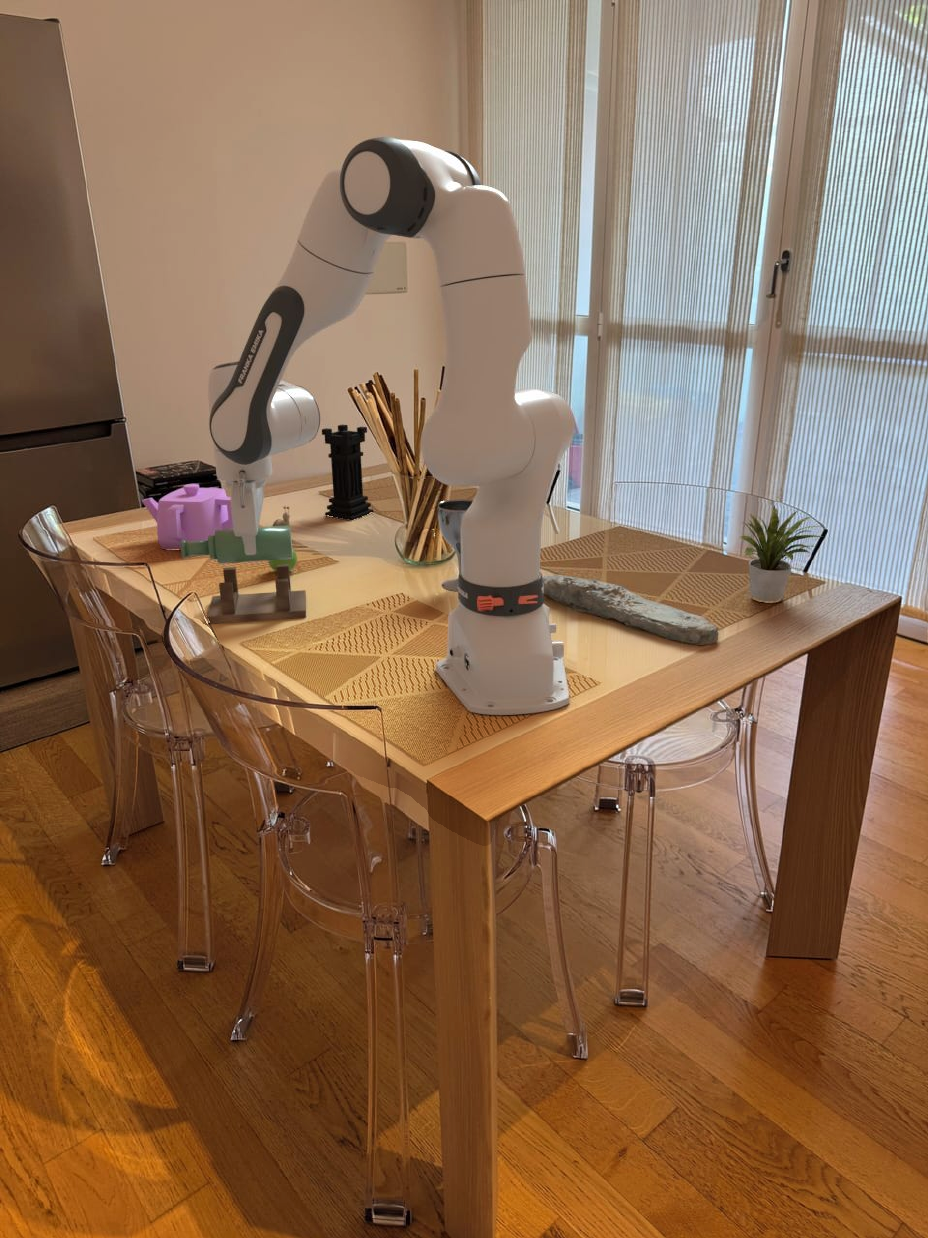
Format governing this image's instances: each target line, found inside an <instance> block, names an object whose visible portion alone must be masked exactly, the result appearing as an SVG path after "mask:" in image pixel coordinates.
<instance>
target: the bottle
mask: <svg viewBox="0 0 928 1238" xmlns="http://www.w3.org/2000/svg"><path fill="white" fill-rule="evenodd" d="M290 525H291V524H289V525H286V526H273V525H271V526H259V527H258V533H257V535H255V538H256V549H257V551H256V554H255V555H246V554H245V548H244V543H243V539H242V537H237V536H235V534H234V530H233V529H223V530H215V535H209V536H208V540H204V541H189V542H186V540H181V551H180V552H181V557H182V559H188V557H195V556H196V557H197V556H209V559H210V560H217V564H218V565H221V564H222V565H223V564H224V565H225V564H235V563H236V564H237V563H250V562H251V563H253V562H265V561H268V560H283V559H293V552H292V548H293V542H292V541H293V539H292V531H291V526H290Z"/></svg>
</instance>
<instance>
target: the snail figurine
mask: <svg viewBox="0 0 928 1238" xmlns="http://www.w3.org/2000/svg"><path fill="white" fill-rule="evenodd" d="M283 509H284V510H287V511H288V512H286V511H284V513H283V514H282V519H280V518H278V519H276V520H275V521H273V524H272V526H286V525H290V517H291V516H290V512H289V511H290V506H286V505H285V506H283ZM292 552H293V559H283V560H268V565H269V567H270V568H271V569H272V570H273V571H275V572H277V565H280V564H289V572H290V571H292V570H294V568H295V567H296V564H297V562H298V556H297V552H296V550H295V549H294V548H293V547H292Z"/></svg>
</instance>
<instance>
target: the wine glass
mask: <svg viewBox="0 0 928 1238" xmlns="http://www.w3.org/2000/svg"><path fill="white" fill-rule="evenodd" d="M473 500H474V499H467V498H466V499H465V498H459V499H458V498H456V499H448V500H447V499H446V500H443V501H440V502H439V503H437V520H438V525H439V529H440V534H441V535H442V537H443V539H444V540H445V541H446V543H448V545H450V547H452V549H453V550H454V552H455V554H456V557H457V563H458V574H459V573H460V572H461V522H462V519H463V516H464V514H465V512H466V511H467V509H468V508H469V507H470V505H471V504H472V502H473ZM457 583H458V577H457V578H450V579H449V578H448V579H447V580H444V581H443V582H442V583H441V587H442V588H443V589H444V590H448V591H451V592H458V589H457Z"/></svg>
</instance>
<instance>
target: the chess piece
mask: <svg viewBox="0 0 928 1238" xmlns="http://www.w3.org/2000/svg"><path fill="white" fill-rule="evenodd" d="M367 433H368V428H367V426H359V427H356V431H352V430H349V427H348V424H339V425H337V431H333V429H332V428H328V427H327V428H322V429H321V435H322V436H324V444H326V445H329V447H330V448H329V449H330V453H328V459H329V458H330V460H331V462H330V463H331V476H332V478H331V479H332V491H333V495H332V496H333V497H331V498H328V503H330V504H329V505H326V510H328V511H326V512H324V516H325V515H329V516H333V517H338V518H337V519H339V518H343V519H342V520H344V519H349V520H348V521H350V520H353V521H355V520H354V519H356V520H358V519H361V518H363V517H362V516H364V515H366V516H368V515H367V514H369V513H370V512H374V509H373V508H370V507H371V506H372V503H371V502H367V501H368V500H369V497H368V496H366V495H364V492H363V491H364V490H363V489H364V488H363V487H364V485H363V470H362V469H363V468H362V456H364V452H363V451H361V449H362V448H361V444H362V443H365V442H366V434H367ZM369 515H370V514H369ZM333 517H332V518H333ZM360 517H361V518H360ZM364 517H365V516H364ZM357 518H358V519H357Z"/></svg>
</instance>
